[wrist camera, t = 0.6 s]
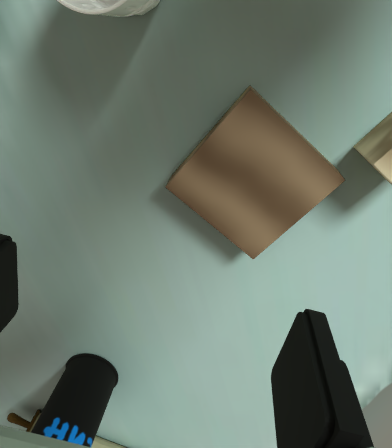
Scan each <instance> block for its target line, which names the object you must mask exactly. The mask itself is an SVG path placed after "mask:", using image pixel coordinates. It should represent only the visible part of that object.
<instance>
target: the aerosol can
mask: <svg viewBox="0 0 392 448" xmlns="http://www.w3.org/2000/svg"><path fill="white" fill-rule="evenodd" d="M117 382H118V374H117V371H116V369H115V368H114V366H113V365H112V364H111V363H110V362H109V361H107V360H106V359H104V358H102V357H100V356H97V355H94V354H78V355H75V356H73V357H72V358H70V359H69V360H68V362H67V364H66V369H65V371H64V373H63V375H62V376H61V378H60V380H59V382H58V384H57V385H56V387H55V389H54V391H53V393H52V395H51V396H50V398H49V400H48V402H47V404H46V405H45V407H44V409H43V411H42V413H41V414H40V416H39V418H38V420H37V422H36V424H35V425H34V427H33V429H32V431H31V433H34V434H38V435H42V436H46V437H51V438H55V439H59V440H63V441H67V442H71V443H75V444H79V445H83V446H87V447H91V446H92V444H93V441H94V438H95V436H96V433H97V431H98V428H99V425H100V423H101V420H102V417H103V415H104V412H105V409H106V407H107V404H108V401H109V399H110V396H111V394H112V391H113V388H114V387H115V386H116V385H117Z"/></svg>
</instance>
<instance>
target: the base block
mask: <svg viewBox="0 0 392 448" xmlns="http://www.w3.org/2000/svg"><path fill="white" fill-rule="evenodd" d="M344 181H345V179H344V178H343V176H342V175H341V174H340V173H339V171H338V170H337V169H336V168H335V167H334V166H333V165H332V164H331V163H330V162H329V161H328V160H327V159H326V158H325V157H324V156H323V155H322V154H321V153H320V152H319V151H318V150H317V149H316V148H315V147H314V146H312V145H311V144H310V143H309V142H308V141H307V140H306V139H305V138H304V137H303V136H302V135H301V134H300V133H299V132H298V131H297V130H296V129H295V128H294V127H293V126H292V125H291V124H290V123H289V122H288V121H287V120H285V119H284V118H283V117H282V116H281V115H280V114H279V113H278V112H277V111H276V110H275V109H274V108H273V107H272V106H271V105H270V104H269V103H268V102H267V101H266V100H265V99H264V98H263V97H262V96H261V95H260V94H258V93H257V92H256V91H255V90H254V89H253V88H252V87H251V86H249V87H248V88H247V89H246V90H245V91H244V93H243V94H242V95H241V96H240V97H239V98H238V100H237V101H236V102H235V103H234V104H233V105H232V106H231V108H230V109H229V110H228V111H227V112H226V113H225V115H224V116H223V117H222V118H221V119H220V120H219V121H218V123H217V124H216V125H215V126H214V127H213V128H212V130H211V131H210V132H209V133H208V134H207V135H206V136H205V138H204V139H203V140H202V141H201V142H200V143H199V145H198V146H197V147H196V148H195V149H194V150H193V151H192V153H191V154H190V155H189V156H188V157H187V158H186V160H185V161H184V162H183V163H182V164H181V165H180V166H179V168H178V169H177V170H176V171H175V172H174V173H173V175H172V176H171V178H170V179H169V181H168V183H167V185H166V188H167V189H168V190H169V191H171V192H172V193H173V194H174V195H175V196H177V197H178V198H179V199H180V200H182V201H183V202H184V203H185V204H186V205H188V206H189V207H190V208H191V209H192V210H194V211H195V212H196V213H197V214H199V215H200V216H201V217H202V218H203V219H205V220H206V221H207V222H208V223H210V224H211V225H212V226H213V227H214V228H216V229H217V230H218V231H219V232H220V233H222V234H223V235H224V236H225V237H227V238H228V239H229V240H230V241H231V242H233V243H234V244H235V245H236V246H238V247H239V248H240V249H241V250H242V251H244V252H245V253H246V254H247V255H248V256H250V257H251V258H252V259H254V258H255V257H257V256H258V255H259V254H260V253H261V252H262V251H264V250H265V249H266V248H267V247H268V246H269V245H271V244H272V243H273V242H274V241H275V240H276V239H278V238H279V237H280V236H281V235H282V234H283V233H284V232H286V231H287V230H288V229H289V228H290V227H291V226H293V225H294V224H295V223H296V222H297V221H298V220H300V219H301V218H302V217H303V216H304V215H305V214H307V213H308V212H309V211H310V210H311V209H312V208H314V207H315V206H316V205H317V204H318V203H319V202H321V201H322V200H323V199H324V198H325V197H326V196H328V195H329V194H330V193H331V192H332V191H333V190H334V189H336V188H337V187H338V186H339V185H340V184H341V183H343V182H344Z"/></svg>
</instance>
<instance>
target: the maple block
mask: <svg viewBox="0 0 392 448" xmlns="http://www.w3.org/2000/svg"><path fill="white" fill-rule="evenodd" d="M353 147H354V148H355V149H356V150H357V151H358V152H359V153H360V154H361V155H362V156H363V157H364V158H365V159H366V160H367V161H368V162H369V163H370V164H371V165H372V166H373V167H374V168H375V169H376V170H377V171H378V172H379V173H380V174H381V175H382V176H383V177H384V178H385V179H386V180H387V181H388V182H389V183H391V184H392V112H391V113H390V114H389V115H388V116H387V117H386V118H385V119H383V120H382V121H381V122H380V123H379V124H378V125H377V126H376V127H375V128H373V129H372V130H371V131H370V132H369V133H368V134H367V135H366V136H364V137H363V138H362V139H361V140H360V141H359V142H358V143H357V144H356V145H354V146H353Z"/></svg>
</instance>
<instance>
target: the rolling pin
mask: <svg viewBox="0 0 392 448" xmlns="http://www.w3.org/2000/svg"><path fill="white" fill-rule="evenodd" d="M39 413H40V410H38V411H37V412H36V414H35V416H34V417H33V419H32V421H31V422H29V421H27V420H25V419H23V418H21V417H20V416H18V415H17V414H15V413H10V414H9V415H8V417H7V420H8V421H9V422H11V423H15V424H18V425H20V426H23V427H25V428H27V430H26V432H30V433H31V431H32V429H33V427H34V425H35V424H36V422H37V420H38V418H39V416H40V414H41V413H40V414H39ZM91 448H126V447H123V446H121V445H118V444H116V443H113V442H110V441H108V440H105V439H102V438H100V437H97V436H95V438H94V441H93V444H92V446H91Z"/></svg>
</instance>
